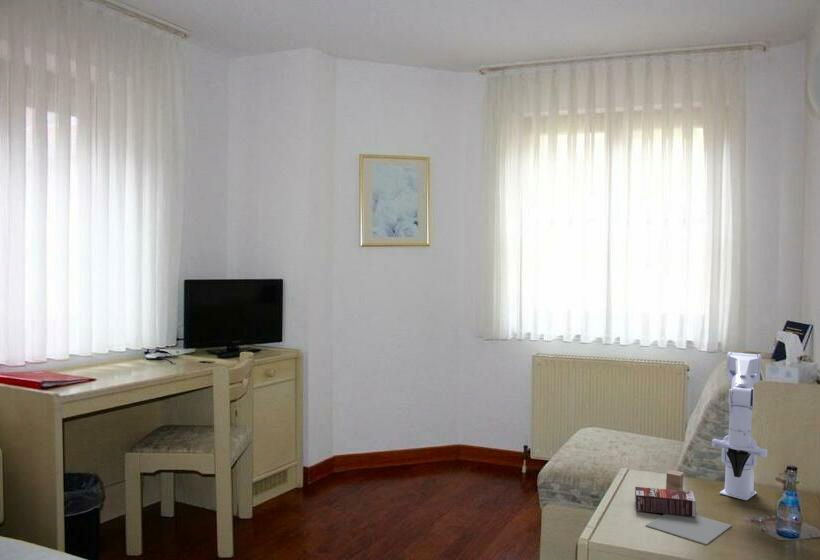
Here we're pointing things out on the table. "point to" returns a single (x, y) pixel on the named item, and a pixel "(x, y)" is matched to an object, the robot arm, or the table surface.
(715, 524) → the mat
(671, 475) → the walnut block
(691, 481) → the table surface
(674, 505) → the supplement box
